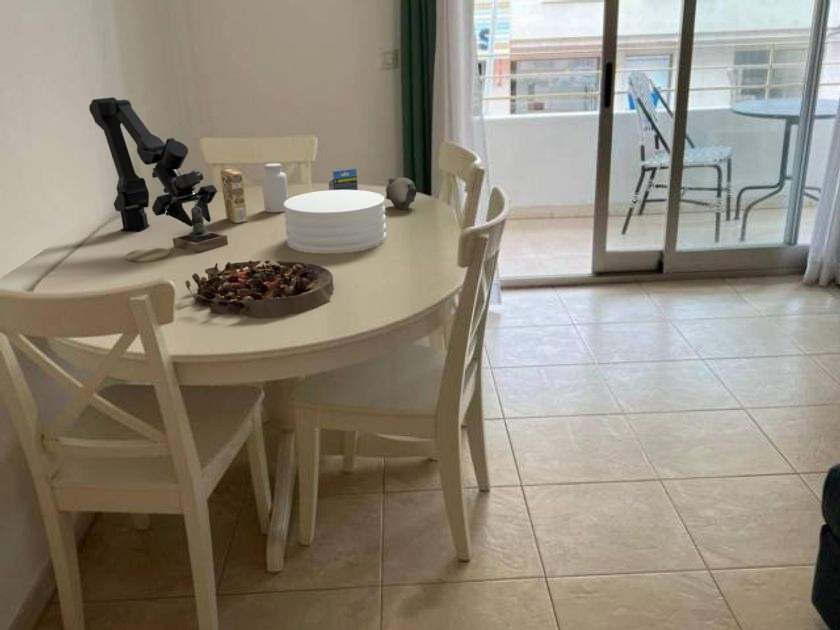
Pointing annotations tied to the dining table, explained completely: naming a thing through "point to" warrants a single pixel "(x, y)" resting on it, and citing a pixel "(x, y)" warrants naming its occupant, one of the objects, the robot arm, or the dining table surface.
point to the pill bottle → (274, 188)
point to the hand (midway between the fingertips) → (201, 223)
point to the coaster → (147, 255)
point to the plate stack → (335, 221)
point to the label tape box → (344, 180)
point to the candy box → (234, 195)
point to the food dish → (264, 289)
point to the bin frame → (211, 243)
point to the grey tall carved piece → (198, 226)
